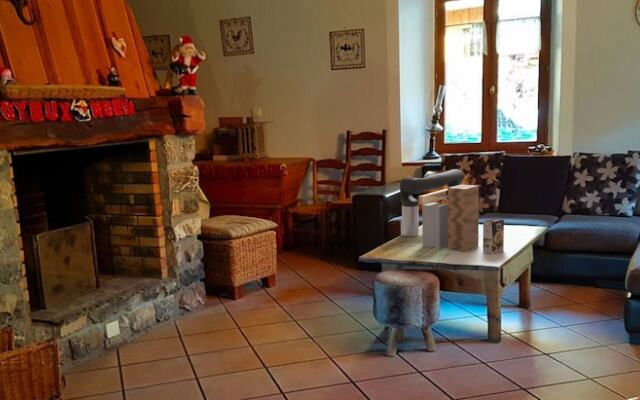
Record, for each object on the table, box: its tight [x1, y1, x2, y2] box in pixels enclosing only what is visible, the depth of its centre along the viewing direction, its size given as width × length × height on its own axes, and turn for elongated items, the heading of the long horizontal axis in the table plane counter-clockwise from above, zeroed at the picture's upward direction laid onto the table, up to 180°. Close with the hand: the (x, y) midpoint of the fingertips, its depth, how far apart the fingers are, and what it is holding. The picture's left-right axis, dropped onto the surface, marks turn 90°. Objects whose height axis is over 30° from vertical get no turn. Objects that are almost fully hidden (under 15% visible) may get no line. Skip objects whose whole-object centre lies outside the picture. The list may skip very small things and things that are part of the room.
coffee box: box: [482, 218, 505, 255], centre depth 306 cm, size 9×6×16 cm
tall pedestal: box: [447, 184, 480, 253], centre depth 314 cm, size 10×14×32 cm
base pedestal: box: [421, 202, 448, 249], centre depth 323 cm, size 10×10×22 cm
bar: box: [418, 188, 448, 205], centre depth 321 cm, size 3×28×4 cm, turn 140°
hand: (443, 191), depth 327 cm, fingers closed on bar, 3 cm apart
